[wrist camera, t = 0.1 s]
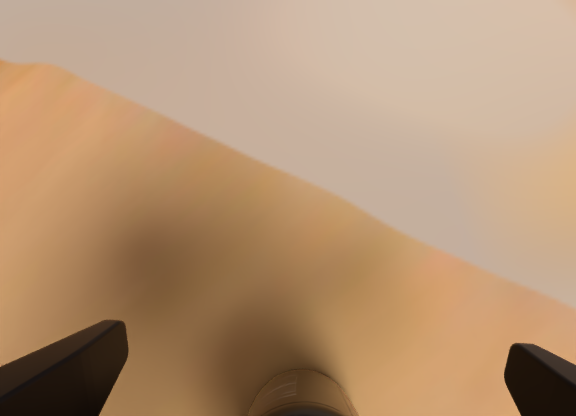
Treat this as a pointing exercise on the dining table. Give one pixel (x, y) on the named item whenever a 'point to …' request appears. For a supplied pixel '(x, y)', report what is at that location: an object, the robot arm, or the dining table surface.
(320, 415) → the supplement bottle
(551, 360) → the robot arm
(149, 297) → the dining table surface
